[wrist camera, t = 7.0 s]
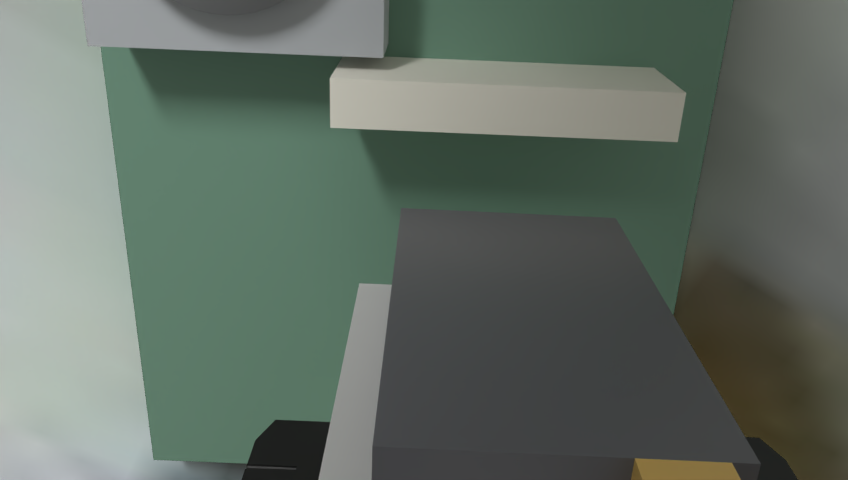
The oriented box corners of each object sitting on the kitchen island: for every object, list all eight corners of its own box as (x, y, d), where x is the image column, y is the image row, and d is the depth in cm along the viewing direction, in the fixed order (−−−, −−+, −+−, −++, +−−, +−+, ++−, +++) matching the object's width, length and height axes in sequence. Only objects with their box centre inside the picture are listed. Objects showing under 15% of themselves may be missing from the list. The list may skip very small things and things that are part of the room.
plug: (400, 207, 14) (367, 486, 7) (615, 218, 14) (785, 505, 7) (392, 468, 17) (359, 867, 10) (577, 476, 17) (678, 880, 10)
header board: (83, -275, 16) (-11, -321, 13) (759, -247, 16) (845, -286, 13) (167, 433, 23) (120, 524, 20) (632, 452, 23) (665, 546, 20)
